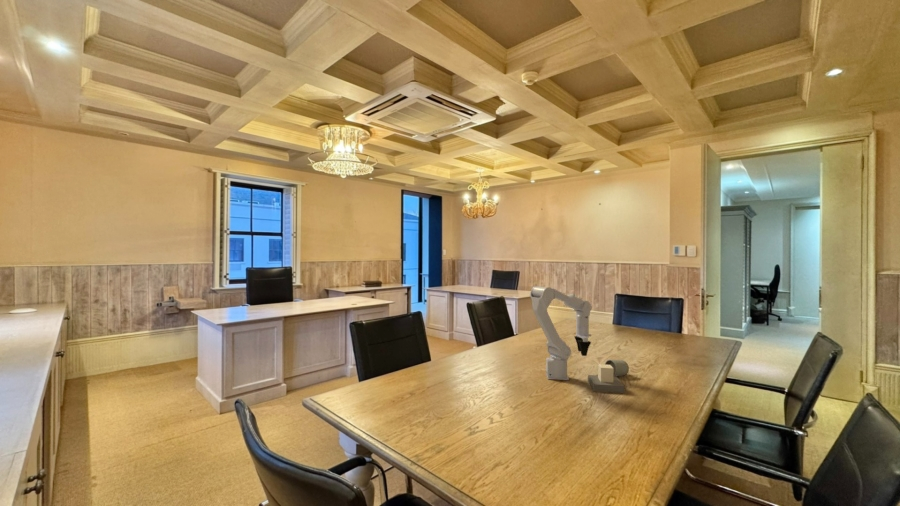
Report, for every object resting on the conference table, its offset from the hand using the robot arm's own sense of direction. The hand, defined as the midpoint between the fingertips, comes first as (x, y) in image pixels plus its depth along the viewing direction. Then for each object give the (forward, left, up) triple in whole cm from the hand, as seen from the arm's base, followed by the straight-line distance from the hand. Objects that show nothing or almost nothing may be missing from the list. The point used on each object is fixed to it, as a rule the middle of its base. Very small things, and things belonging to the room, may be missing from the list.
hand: (582, 353), depth 176 cm
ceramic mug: (+15, 0, -10) cm, 18 cm away
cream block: (+6, -18, -6) cm, 20 cm away
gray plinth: (+6, -18, -9) cm, 21 cm away
